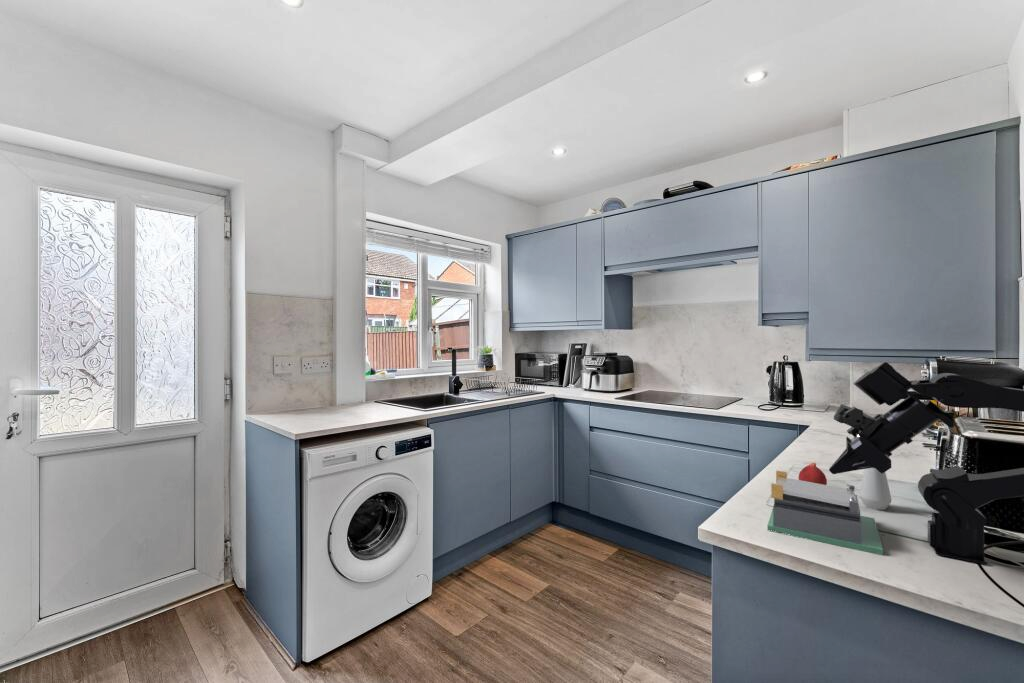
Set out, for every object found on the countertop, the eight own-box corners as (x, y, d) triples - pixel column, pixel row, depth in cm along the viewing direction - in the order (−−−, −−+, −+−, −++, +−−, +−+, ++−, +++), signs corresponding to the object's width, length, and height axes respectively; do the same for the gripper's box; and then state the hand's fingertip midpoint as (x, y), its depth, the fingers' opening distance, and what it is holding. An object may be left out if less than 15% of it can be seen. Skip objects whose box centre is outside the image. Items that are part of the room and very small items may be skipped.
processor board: (874, 522, 92) (874, 518, 92) (882, 555, 79) (882, 549, 79) (775, 504, 103) (775, 500, 103) (767, 530, 89) (767, 525, 89)
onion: (801, 496, 108) (801, 464, 108) (796, 489, 114) (796, 458, 114) (829, 499, 106) (829, 466, 106) (823, 491, 111) (822, 460, 111)
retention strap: (854, 495, 91) (854, 489, 91) (857, 509, 84) (857, 503, 84) (778, 480, 99) (778, 475, 99) (774, 492, 92) (774, 487, 92)
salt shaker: (897, 512, 98) (897, 454, 98) (868, 510, 99) (868, 453, 99) (881, 503, 104) (881, 448, 104) (853, 501, 105) (853, 447, 105)
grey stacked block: (856, 515, 94) (856, 479, 94) (861, 544, 81) (861, 502, 81) (777, 501, 102) (777, 468, 102) (770, 525, 89) (770, 487, 89)
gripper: (859, 387, 94) (799, 433, 101) (866, 397, 79) (794, 449, 86) (909, 427, 90) (842, 472, 96) (926, 446, 75) (846, 498, 81)
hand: (830, 471), depth 90 cm, fingers closed
